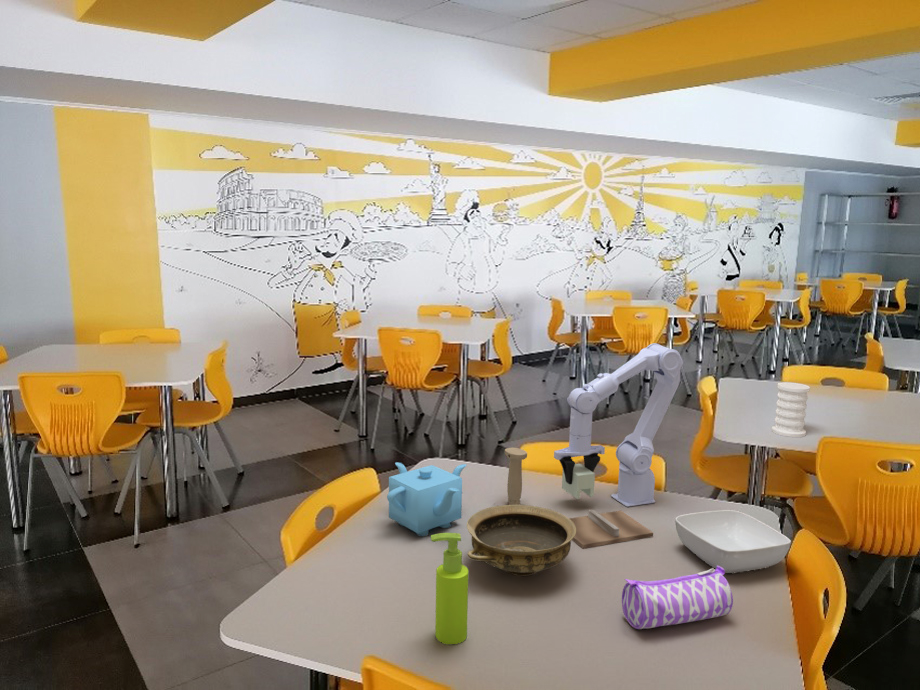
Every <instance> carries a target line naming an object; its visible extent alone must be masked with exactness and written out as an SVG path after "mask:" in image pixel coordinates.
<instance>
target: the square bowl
mask: <svg viewBox="0 0 920 690" xmlns="http://www.w3.org/2000/svg"><path fill="white" fill-rule="evenodd" d="M674 520H675V521H674V522H675V529H676V533H677V536H678V537H679V539H680V541H681V542H682V544H683V545H684V546H685V547H686V548H688V549H689V551H691V552H692V554H694V555H695V554H696V555H695V556H696V557H698V558H699V559H700V560H702V561H703V562H704V561H705V562H704V563H706V564H707V565H708V564H709V565H708V566H710V567H711V566H712V567H711V568H715V570H716V569H717V565H718V566H720V567H722V568H723V569H724V570H725V573H732V574H735V573H734V572H740V573H743V572H742V571H747V572H749V571H748V570H754V569H760V568H765V567H768V568H770V567H772V566H775V565H778V563H780V562H781V561H782V560H784V559H785V557H786V555H787V554H788V552H789V550H790V548H791V547H790V546H791V544H792V540H791V539H790V538H789V537H787V536H786V535H785V534H783V533H781V532H780V531H778V530H776V529H775V528H773V527H771V526H770V525H768V524H767V523H764V522H763V521H761V520H759V519H757V518H755V517H753V516H752V515H749V514H748V513H744V512H741V511H738V510H734V509H733V510H732V509H722V510H720V509H719V510H708V511H707V510H706V511H700V512H692V513H686V514H680V515H677V516H676V517H675V519H674ZM769 566H770V567H769ZM765 569H766V568H765ZM760 570H761V569H760ZM754 571H755V570H754Z"/></svg>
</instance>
